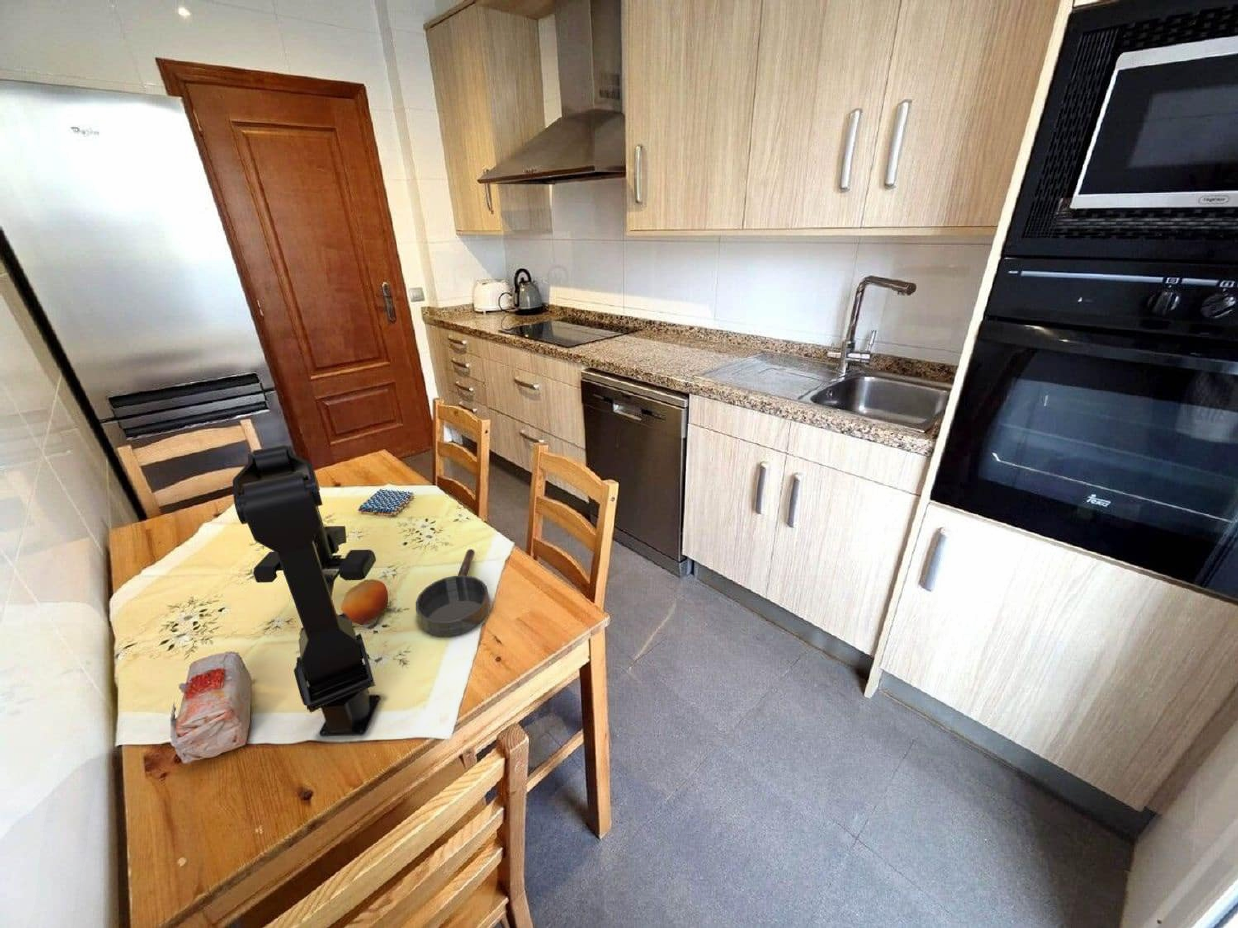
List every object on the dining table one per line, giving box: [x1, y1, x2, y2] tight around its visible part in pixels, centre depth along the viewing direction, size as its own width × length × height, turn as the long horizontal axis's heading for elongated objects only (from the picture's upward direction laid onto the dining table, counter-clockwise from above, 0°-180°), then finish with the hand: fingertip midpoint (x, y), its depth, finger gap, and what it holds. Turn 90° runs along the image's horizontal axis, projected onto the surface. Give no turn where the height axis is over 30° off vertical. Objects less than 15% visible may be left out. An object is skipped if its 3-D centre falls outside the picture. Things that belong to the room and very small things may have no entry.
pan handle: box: [457, 548, 476, 576], centre depth 104 cm, size 10×2×2 cm, turn 3°
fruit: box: [340, 578, 392, 625], centre depth 94 cm, size 8×8×8 cm
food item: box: [169, 651, 252, 765], centre depth 72 cm, size 14×8×10 cm, turn 31°
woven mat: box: [357, 488, 415, 517], centre depth 130 cm, size 10×11×2 cm
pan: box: [415, 575, 491, 638], centre depth 95 cm, size 13×13×4 cm
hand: (327, 601), depth 93 cm, fingers closed
